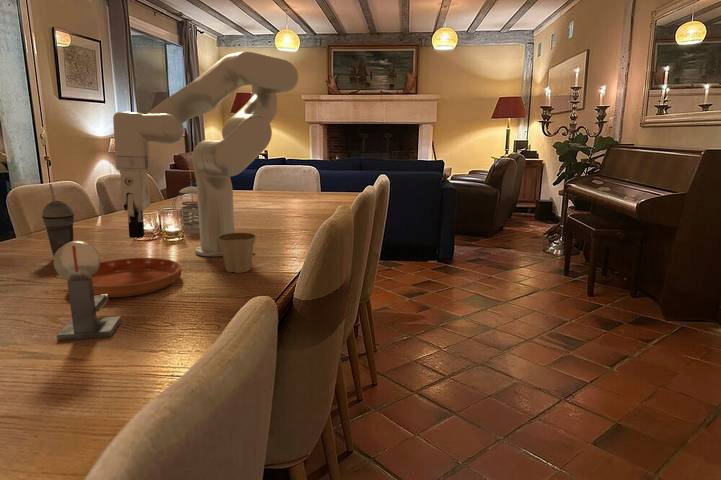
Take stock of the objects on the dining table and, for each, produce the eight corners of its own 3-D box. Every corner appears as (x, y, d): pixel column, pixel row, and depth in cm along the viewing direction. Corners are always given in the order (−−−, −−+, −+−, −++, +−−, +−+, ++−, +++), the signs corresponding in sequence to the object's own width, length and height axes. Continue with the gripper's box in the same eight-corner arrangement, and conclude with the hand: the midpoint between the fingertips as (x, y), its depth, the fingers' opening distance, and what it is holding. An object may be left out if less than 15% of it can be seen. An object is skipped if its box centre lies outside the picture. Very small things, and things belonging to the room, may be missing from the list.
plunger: (108, 300, 90) (108, 294, 90) (99, 311, 85) (98, 304, 84) (101, 300, 90) (101, 294, 90) (91, 311, 84) (91, 305, 84)
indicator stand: (123, 318, 87) (114, 232, 84) (110, 336, 79) (100, 242, 76) (75, 321, 85) (63, 233, 82) (57, 340, 78) (44, 244, 74)
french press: (203, 233, 161) (198, 158, 156) (169, 232, 162) (163, 158, 156) (212, 227, 171) (208, 157, 166) (180, 227, 171) (175, 157, 166)
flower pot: (238, 277, 112) (236, 242, 110) (210, 271, 117) (208, 237, 115) (265, 268, 120) (264, 235, 118) (239, 263, 125) (237, 230, 123)
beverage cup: (64, 262, 123) (54, 185, 119) (41, 261, 125) (30, 185, 120) (85, 255, 130) (77, 183, 126) (63, 254, 132) (53, 182, 127)
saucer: (147, 266, 122) (146, 252, 122) (202, 282, 109) (201, 267, 109) (50, 288, 104) (47, 272, 103) (102, 311, 91) (99, 293, 90)
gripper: (142, 165, 110) (146, 243, 114) (155, 163, 125) (158, 231, 128) (107, 164, 109) (112, 243, 112) (124, 162, 123) (127, 231, 126)
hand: (136, 237), depth 120 cm, fingers closed
